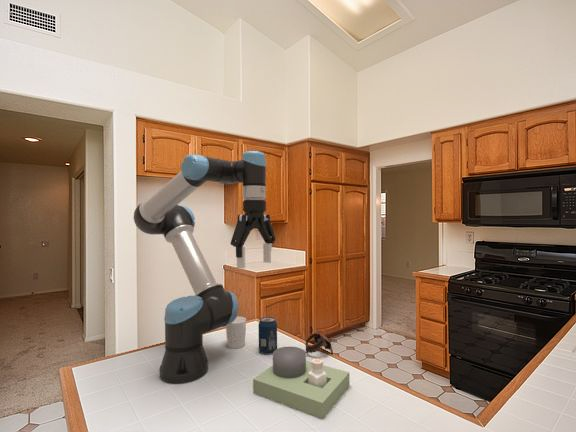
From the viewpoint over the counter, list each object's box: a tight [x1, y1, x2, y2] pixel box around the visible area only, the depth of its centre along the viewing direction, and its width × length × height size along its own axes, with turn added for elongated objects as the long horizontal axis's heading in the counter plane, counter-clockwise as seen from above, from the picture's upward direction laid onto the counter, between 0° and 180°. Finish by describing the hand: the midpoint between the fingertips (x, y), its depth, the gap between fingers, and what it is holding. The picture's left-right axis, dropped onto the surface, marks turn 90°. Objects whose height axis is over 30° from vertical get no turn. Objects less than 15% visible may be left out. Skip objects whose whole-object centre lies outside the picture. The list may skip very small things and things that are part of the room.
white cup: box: [225, 316, 247, 349], centre depth 124 cm, size 8×8×10 cm
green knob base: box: [252, 346, 350, 420], centre depth 92 cm, size 22×18×9 cm
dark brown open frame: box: [304, 330, 334, 355], centre depth 117 cm, size 12×10×8 cm
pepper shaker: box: [308, 358, 327, 388], centre depth 89 cm, size 4×4×10 cm
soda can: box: [258, 316, 278, 355], centre depth 118 cm, size 7×7×12 cm
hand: (254, 265), depth 102 cm, fingers open, 13 cm apart
